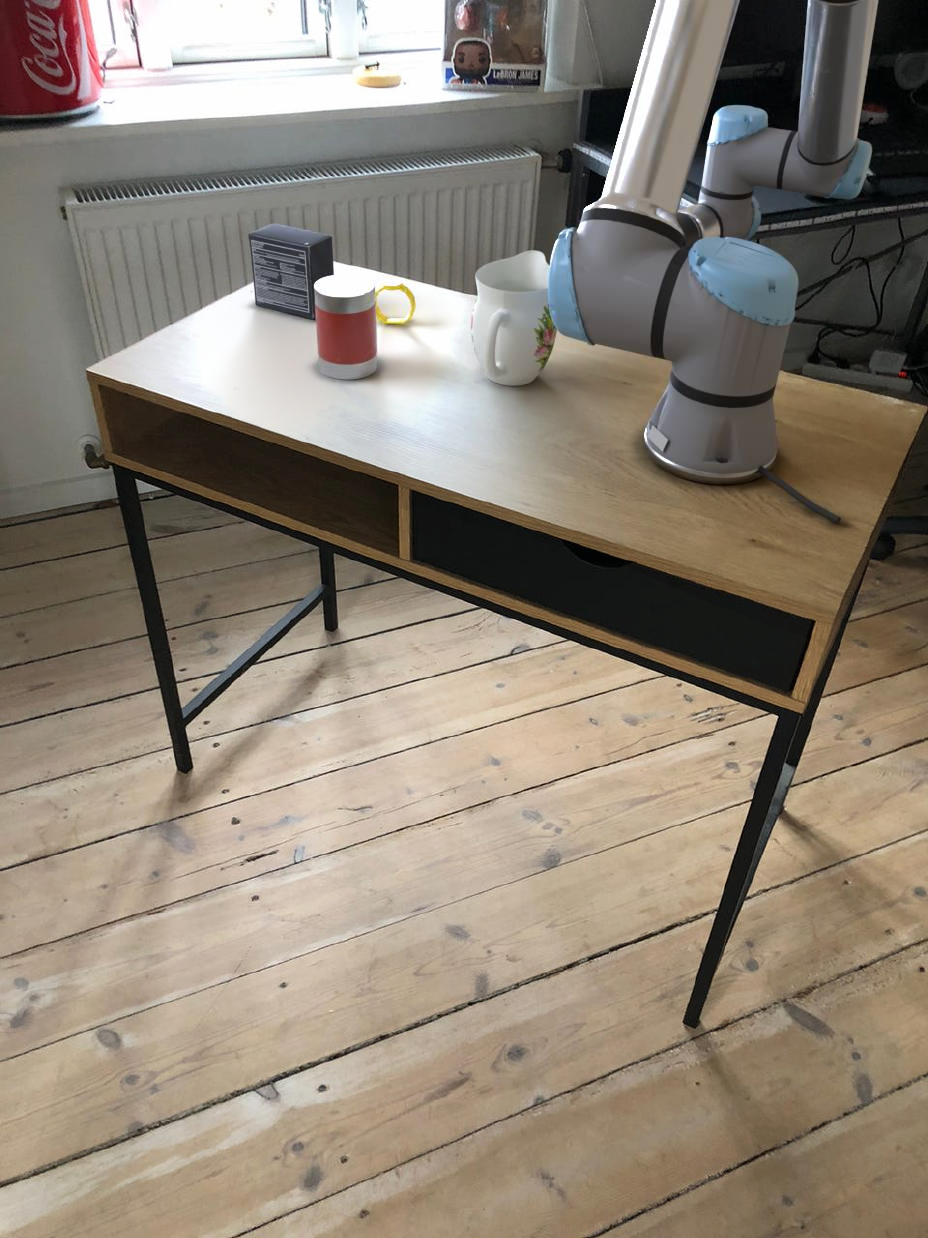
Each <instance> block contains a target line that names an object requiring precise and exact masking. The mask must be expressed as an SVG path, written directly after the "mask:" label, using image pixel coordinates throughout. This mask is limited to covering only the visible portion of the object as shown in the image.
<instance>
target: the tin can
mask: <svg viewBox="0 0 928 1238" xmlns="http://www.w3.org/2000/svg"><path fill="white" fill-rule="evenodd" d="M314 293H315V316H316V318H315V328H316V329H315V330H316V331H315V332H316V345H317V354H318V364H319V365H318V366H319V367H318V368H319V371H320V372H321V374H323V375H325V376H327V377H329V378H332V379H336V380H343V381H344V380H345V381H350V380H352V381H353V380H359V379H363V378H367V377H370V376H371V375H373V374H374V373H375V372H376V371H377V368H378V333H377V332H378V331H377V330H378V329H377V316H376V301H375V293H376V285H375V283H374V281H373V280H371V279H370V278H367V277H365V276H361V275H356V274H334V275H333V276H328V277H325V278H322V279H320V280H318V281H317V282H316V283H315V285H314Z"/></svg>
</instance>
